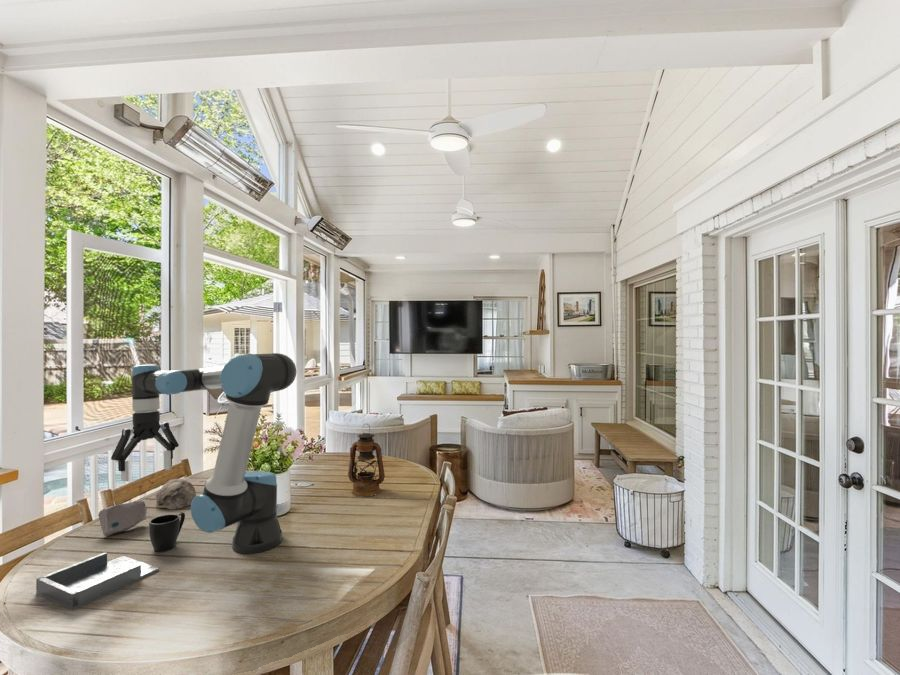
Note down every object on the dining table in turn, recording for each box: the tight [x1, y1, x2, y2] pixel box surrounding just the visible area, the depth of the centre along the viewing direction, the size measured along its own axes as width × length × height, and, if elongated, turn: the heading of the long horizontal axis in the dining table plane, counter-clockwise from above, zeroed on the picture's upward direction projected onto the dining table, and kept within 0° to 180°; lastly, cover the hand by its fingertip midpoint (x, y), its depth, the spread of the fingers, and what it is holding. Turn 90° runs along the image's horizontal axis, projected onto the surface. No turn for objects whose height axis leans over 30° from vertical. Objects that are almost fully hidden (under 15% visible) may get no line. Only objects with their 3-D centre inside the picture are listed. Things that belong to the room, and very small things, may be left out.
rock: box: [155, 478, 197, 510], centre depth 181 cm, size 15×12×10 cm
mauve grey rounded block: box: [97, 500, 148, 537], centre depth 156 cm, size 13×10×6 cm
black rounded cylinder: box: [148, 512, 186, 553], centre depth 145 cm, size 8×12×10 cm
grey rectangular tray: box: [35, 551, 160, 612], centre depth 123 cm, size 17×21×4 cm
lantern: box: [347, 423, 386, 497], centre depth 196 cm, size 17×13×30 cm
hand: (147, 475), depth 149 cm, fingers open, 13 cm apart
